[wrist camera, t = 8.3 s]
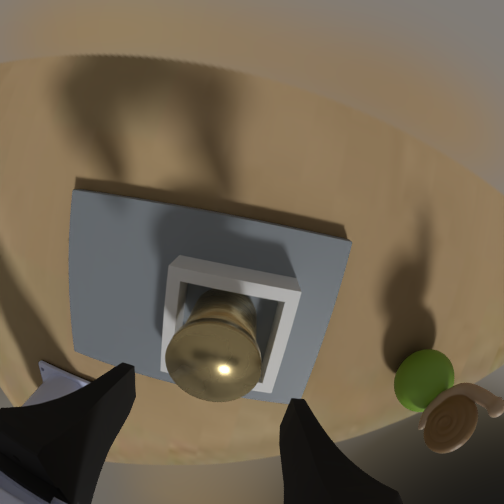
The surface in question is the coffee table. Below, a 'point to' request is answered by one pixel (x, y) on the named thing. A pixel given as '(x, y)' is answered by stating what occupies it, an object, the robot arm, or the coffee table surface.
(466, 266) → the coffee table surface
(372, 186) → the coffee table surface
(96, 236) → the fitting board
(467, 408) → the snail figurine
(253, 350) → the brass door knob
